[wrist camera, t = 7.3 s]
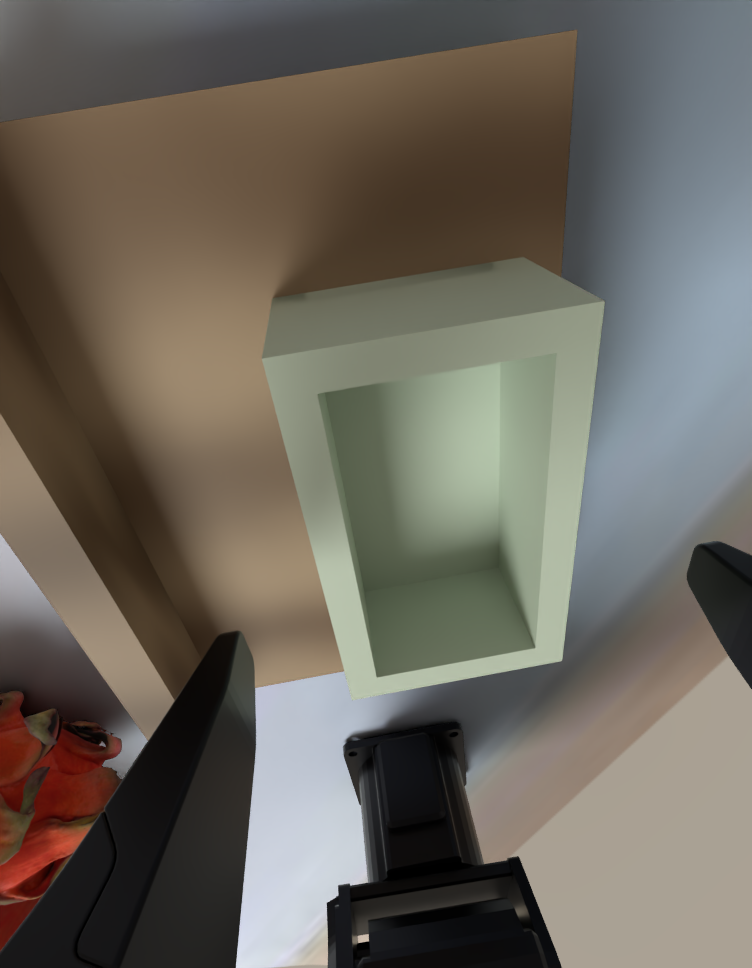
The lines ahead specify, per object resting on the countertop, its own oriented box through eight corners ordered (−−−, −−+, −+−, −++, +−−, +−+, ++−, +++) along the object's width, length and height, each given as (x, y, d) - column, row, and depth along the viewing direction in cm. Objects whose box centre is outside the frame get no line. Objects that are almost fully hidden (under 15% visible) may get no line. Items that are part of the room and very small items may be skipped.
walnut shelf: (512, 580, 23) (564, 691, 18) (194, 639, 22) (167, 767, 18) (522, 51, 13) (648, 2, 8) (-60, 144, 12) (-273, 149, 8)
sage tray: (514, 564, 18) (561, 661, 15) (342, 595, 18) (352, 700, 14) (523, 256, 12) (604, 300, 9) (272, 298, 12) (261, 358, 9)
